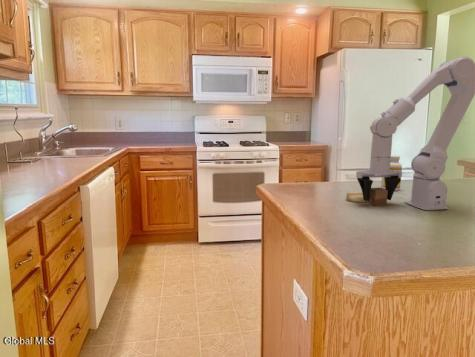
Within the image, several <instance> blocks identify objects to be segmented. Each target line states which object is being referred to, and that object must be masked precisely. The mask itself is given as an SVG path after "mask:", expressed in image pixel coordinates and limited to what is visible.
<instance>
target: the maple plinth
mask: <svg viewBox="0 0 475 357" xmlns="http://www.w3.org/2000/svg"><path fill="white" fill-rule="evenodd" d="M345 200H346V201H347V202H350V203H355V204H362V203H365V204H366V203H368V201H365V200H363V193H362V192H357V191H354V192H351V191H350V192H347V193H346V199H345Z"/></svg>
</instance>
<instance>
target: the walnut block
mask: <svg viewBox="0 0 475 357" xmlns="http://www.w3.org/2000/svg"><path fill="white" fill-rule="evenodd" d="M387 194H388V190H386V189H383V188H381V187H371V190H370V199H369V201H367V204H368V205H370V206H373V207H386V206H387V202H388V200H387Z"/></svg>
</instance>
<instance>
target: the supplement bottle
mask: <svg viewBox="0 0 475 357" xmlns="http://www.w3.org/2000/svg"><path fill="white" fill-rule="evenodd" d="M400 160H401V156H400V155H392V154H391V160H390V170H400V171H403V170H402V167H403V165H402V163H401V162H399V161H400ZM398 178H401V179H402V177H398ZM380 182H381V183H380V188H383V189H385V179H384V177H381V181H380ZM400 189H401V182H400V183H399V184H398V185H397V187H396V189H395V191H396V192H397V191H400ZM395 191H394V192H395Z"/></svg>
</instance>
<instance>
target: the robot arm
mask: <svg viewBox="0 0 475 357" xmlns="http://www.w3.org/2000/svg"><path fill="white" fill-rule="evenodd" d="M441 85H444V86H445V87H446V88H447V89H448V92H449V93H450V94H451V97H450V98H449V100H448V102H447V104H446V106H445V108H444V110H443V112H442V114H441V116H440V118H439V120H438V123H437V125H436V127H435V128H434V130H433V132H432V134H431V136H430V138H429V140H428V142H427V143H426V145H424V146H423V147H422V148H421V149H420V151H419V152H418V153H417V155H416V156H414V157H413V159H411V164H410V165H411V166H410V167H411V170H412V171H413V177H412V188H411V198H410V200H405V201H404V202H403V203H405V204H408V205H409V206H413V207H415V208H418V209H419V210H420V209H421V210H422V211H423V210H424V211H435V210H448V207H447V206H446V204H447V196H448V195H447V194H448V186H447V183H445V182H444V181H442V180H441V176H443V174H444V173H445V170H446V163H447V160H448V157H449V156H448V154H447V150H448V147H449V146H450V144H451V141H452V139H453V137H454V136H455V133H456V132H457V130H458V128H459V126H460V123H461V122H462V120H463V118H464V116H465V115H466V112H467V110H468V109H469V106H470V105H471V103H472V101H473V99H474V97H475V61H474V59H472V58H471V57H469V56H460V57H458V58H456V59H451V60H447V61H444V62H443V63H440V65H439V66H438V67H437V68H435V69H433V70H432V71H431V72H430V74H429V75H427V77H426V78H425V79H424V80H422V82H420V84H419V85H418V86H417V87H416V88H415V89H414V90H413V91H412V92H410V94H409V95H408V96H407V97H399V99H398V98H396V99H394V100H393V101H392V103H393V104H392V105H391V106H390V107H389V108H387V109H386V110H385V111H382V112H381V113H380V117H377V118H375V119H374V120H373V121H372V123H371V125H370V126H369V128H370V129H369V130H370V132H371V134H372V140H371V146H370V147H371V149H370V160H369V161H370V163H369V169H367V170H366V169H365V170H356V174H355V177H356V178H357V181H358V184H359V186H360V189H361V193H363V200H365V201H367V202H368V201H369V199H370V190H371V188H372V185H373V182H374V180H372V179H371V178H382V177H384V179H385V189H386V190H388V194H387V201H391V200H392V198H393V195H394V192H395V189H396V187H397V185H398V184H399V183H400V184H401V181H402V176H403V170H401V171H400V170H390V160H391V155H392V147H393V135H394V134H395V133H396V131H397V130H398V127H399V126H400V125H401V124H402V123H403V122H404V121H406V120H407V119H408V118H409V117H410V116H411V115H412V114H413V113H414V112H415V111H416V105H417V104H418V103H419V102H420V101H422V100H423V99H424V98H425V97H426V96H427V95H428V94H430V93H431V92H432V91H433V90H434V89H436V88H437V87H439V86H441ZM398 177H401V178H398Z"/></svg>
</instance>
